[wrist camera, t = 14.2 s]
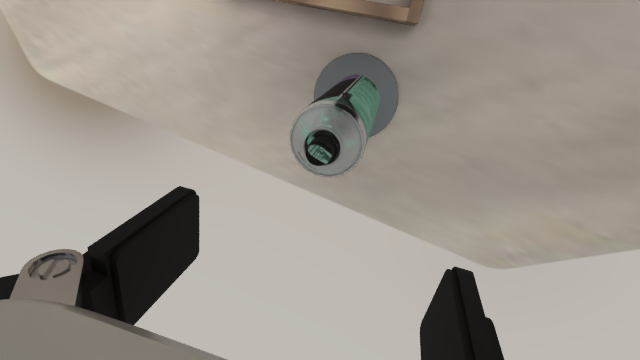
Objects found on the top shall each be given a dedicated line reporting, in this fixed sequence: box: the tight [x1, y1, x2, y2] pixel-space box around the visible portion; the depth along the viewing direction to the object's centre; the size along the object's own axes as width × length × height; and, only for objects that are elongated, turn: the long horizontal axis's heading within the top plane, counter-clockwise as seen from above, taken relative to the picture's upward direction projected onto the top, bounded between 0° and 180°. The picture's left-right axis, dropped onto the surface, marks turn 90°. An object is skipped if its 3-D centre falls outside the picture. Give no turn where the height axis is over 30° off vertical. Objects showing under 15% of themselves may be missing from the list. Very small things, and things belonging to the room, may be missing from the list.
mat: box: [314, 53, 398, 137], centre depth 38 cm, size 10×10×1 cm
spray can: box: [290, 74, 380, 177], centre depth 29 cm, size 6×6×20 cm
